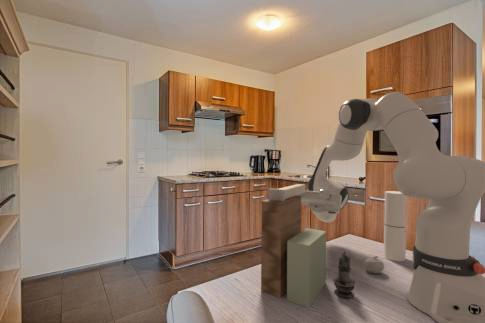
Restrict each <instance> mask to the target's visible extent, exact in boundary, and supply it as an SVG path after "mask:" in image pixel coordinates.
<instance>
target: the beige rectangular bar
mask: <svg viewBox="0 0 485 323" xmlns="http://www.w3.org/2000/svg"><path fill="white" fill-rule="evenodd" d="M305 191H306V184H305V183H304V184H302V183H297V184H291V185H288V186H284V187H280V188H268V198H267V199H268V200H276V201H285V199H288V198H291V197H294V196H297V195H300V194H303V193H305Z"/></svg>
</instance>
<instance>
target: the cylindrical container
mask: <svg viewBox="0 0 485 323" xmlns="http://www.w3.org/2000/svg"><path fill="white" fill-rule="evenodd" d="M407 199H408V196H406V195H404V194H402V193H401V192H400V191H399V190H385V191H384V223H383V225H384V228H383V229H384V230H383V257H384V258H385V259H387V260H390V261H394V262H405V261H406V253H407V252H406V251H407V250H406V248H407V246H406V245H407V244H406V243H407V208H408V207H407V204H408V203H407V201H408V200H407Z"/></svg>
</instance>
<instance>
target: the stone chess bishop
mask: <svg viewBox="0 0 485 323" xmlns="http://www.w3.org/2000/svg"><path fill="white" fill-rule="evenodd" d="M346 253H347V252H346V251H344V252H343V254H340V255H339V257H338V265H337V268H338V274H337V276H335V277H333V279H332V281H333V284H334V286H335V288H336V289H334V291H333V293H334V296H336V297H338V298H340V299H344V300H351V299H354V297H355V294H354V292H353V290H354V289H355V286H356V280H354V279H352V278H351V271H352V268H351V259H350V258H351V257H350V256H349V255H347V254H346Z"/></svg>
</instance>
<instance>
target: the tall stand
mask: <svg viewBox="0 0 485 323" xmlns="http://www.w3.org/2000/svg"><path fill="white" fill-rule="evenodd" d="M268 199H269V198H267V199H264V200H261V226H260V227H261V231H260V232H261V233H260V234H261V235H260V236H261V244H260V245H261V247H260V249H261V250H260V251H261V255H260V256H261V257H260V262H261V263H260V264H261V265H260V270H261V271H260V274H261V275H260V292H261V293H265V294H267V295H268V294H269V295H270V296H273V297H276V298H281V297H283V295H284V294H285V293H287V241H288V240H290V239H291V238H293V237H294V236H296V235H297V234H299V233H300V232H302V204H301V196H294V197H291V198H288V199H285V201H276V200H268Z"/></svg>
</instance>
